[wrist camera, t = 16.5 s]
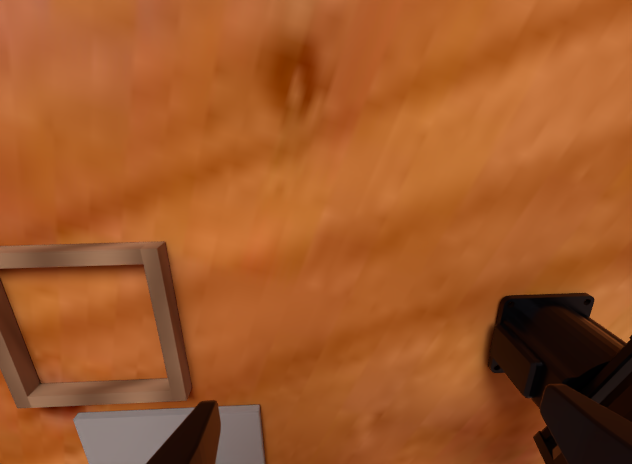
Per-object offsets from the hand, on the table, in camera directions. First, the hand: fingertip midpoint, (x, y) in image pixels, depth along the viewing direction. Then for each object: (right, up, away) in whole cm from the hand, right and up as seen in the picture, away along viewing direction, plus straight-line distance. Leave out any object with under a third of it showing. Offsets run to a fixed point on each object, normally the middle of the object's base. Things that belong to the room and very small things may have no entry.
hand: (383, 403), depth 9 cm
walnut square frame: (-17, -2, +14) cm, 22 cm away
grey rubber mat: (-13, -16, +19) cm, 28 cm away
